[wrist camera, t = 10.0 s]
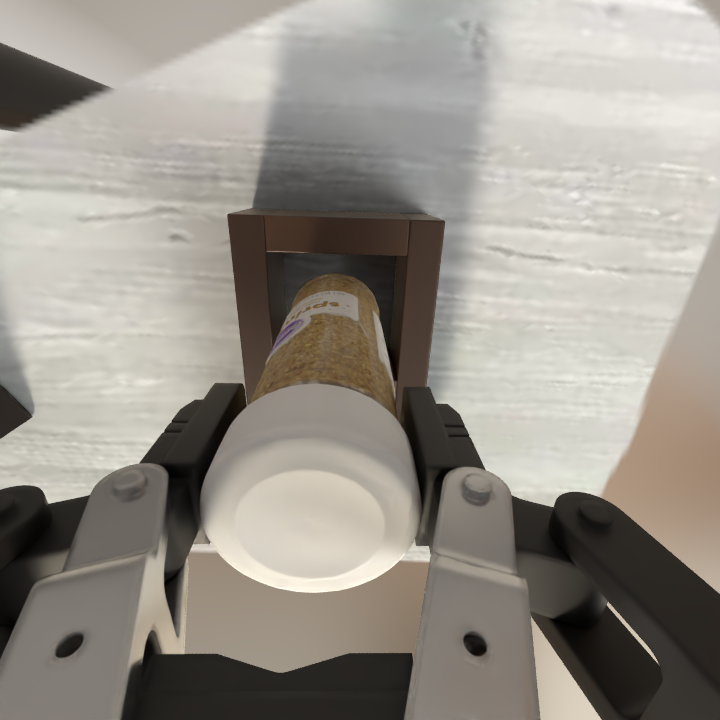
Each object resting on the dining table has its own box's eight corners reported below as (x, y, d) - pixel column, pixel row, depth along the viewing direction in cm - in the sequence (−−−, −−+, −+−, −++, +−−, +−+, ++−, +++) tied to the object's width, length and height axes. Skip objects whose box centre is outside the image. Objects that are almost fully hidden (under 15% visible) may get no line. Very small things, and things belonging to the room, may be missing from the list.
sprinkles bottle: (316, 254, 18) (247, 390, 6) (396, 299, 19) (473, 492, 7) (276, 332, 20) (160, 562, 8) (352, 370, 21) (355, 626, 9)
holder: (272, 466, 28) (258, 514, 24) (251, 208, 21) (226, 213, 17) (403, 468, 29) (411, 515, 25) (427, 213, 21) (445, 220, 17)
